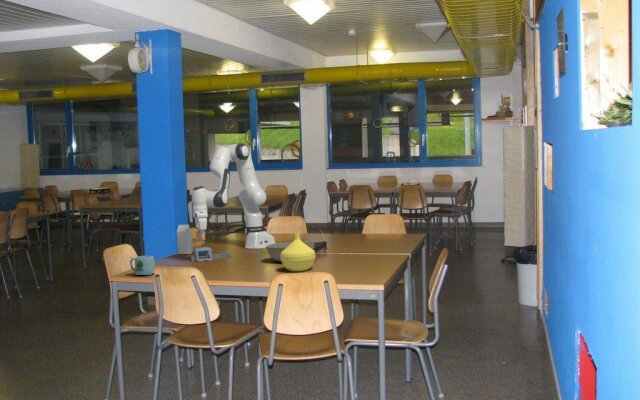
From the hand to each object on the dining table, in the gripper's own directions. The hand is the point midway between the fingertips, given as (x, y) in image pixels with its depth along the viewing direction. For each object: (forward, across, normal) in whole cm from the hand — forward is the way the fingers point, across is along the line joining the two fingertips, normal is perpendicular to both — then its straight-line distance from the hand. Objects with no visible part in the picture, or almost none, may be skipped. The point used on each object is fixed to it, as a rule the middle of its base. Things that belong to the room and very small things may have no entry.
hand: (201, 236), depth 402 cm
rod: (+14, 0, +5) cm, 15 cm away
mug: (+14, +32, -37) cm, 51 cm away
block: (+2, 0, -1) cm, 2 cm away
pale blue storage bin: (+14, 0, 0) cm, 14 cm away
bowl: (+14, +36, +45) cm, 59 cm away
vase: (+14, +68, +40) cm, 80 cm away
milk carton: (+14, -32, -6) cm, 36 cm away
